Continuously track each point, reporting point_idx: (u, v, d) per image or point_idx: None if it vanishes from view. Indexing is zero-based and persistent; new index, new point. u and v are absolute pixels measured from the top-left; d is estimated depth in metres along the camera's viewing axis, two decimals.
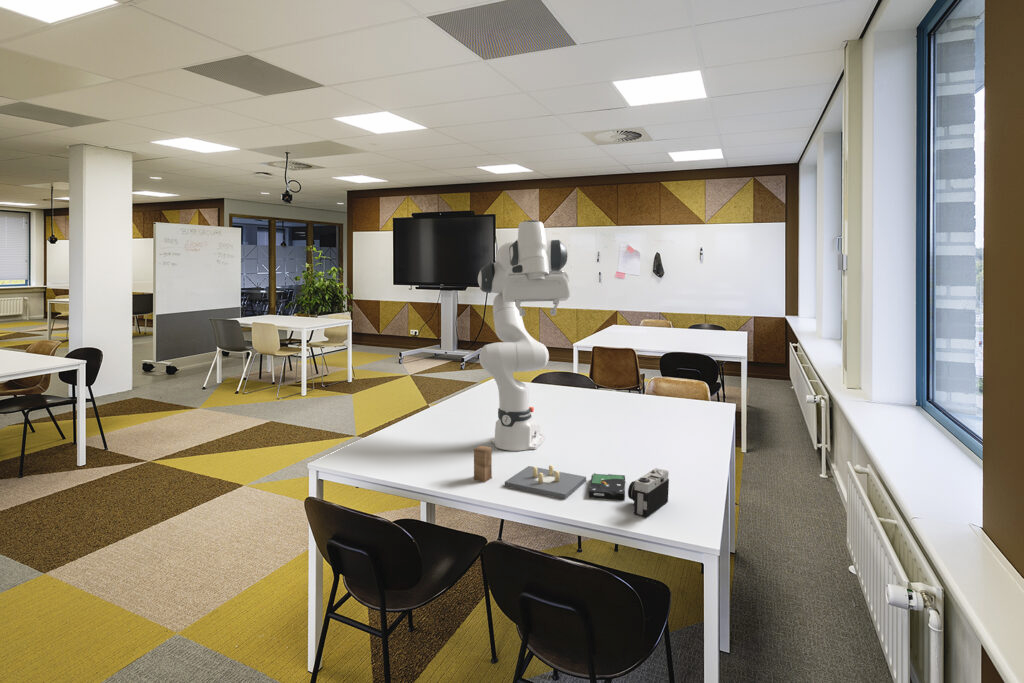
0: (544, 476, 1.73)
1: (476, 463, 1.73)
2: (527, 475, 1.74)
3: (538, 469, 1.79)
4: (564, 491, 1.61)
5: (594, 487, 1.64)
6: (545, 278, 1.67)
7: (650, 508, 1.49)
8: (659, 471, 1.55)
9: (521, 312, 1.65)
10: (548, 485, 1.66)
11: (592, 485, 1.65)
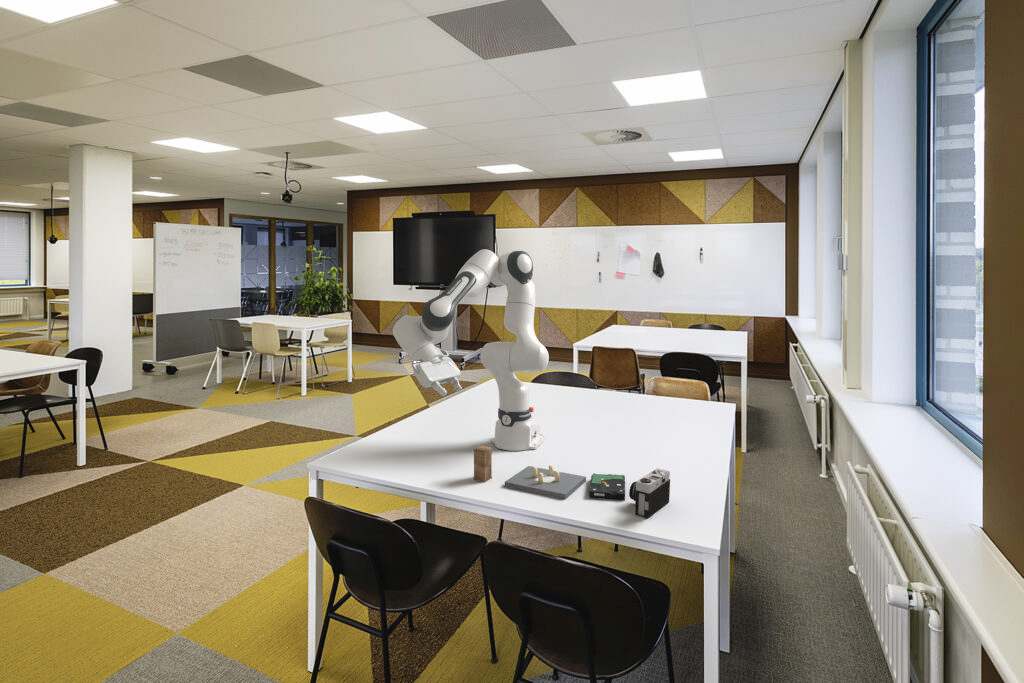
0: (544, 476, 1.73)
1: (476, 463, 1.73)
2: (527, 475, 1.74)
3: (538, 469, 1.79)
4: (564, 491, 1.61)
5: (594, 487, 1.64)
6: None
7: (652, 509, 1.49)
8: (660, 471, 1.55)
9: None
10: (548, 485, 1.66)
11: (592, 485, 1.65)
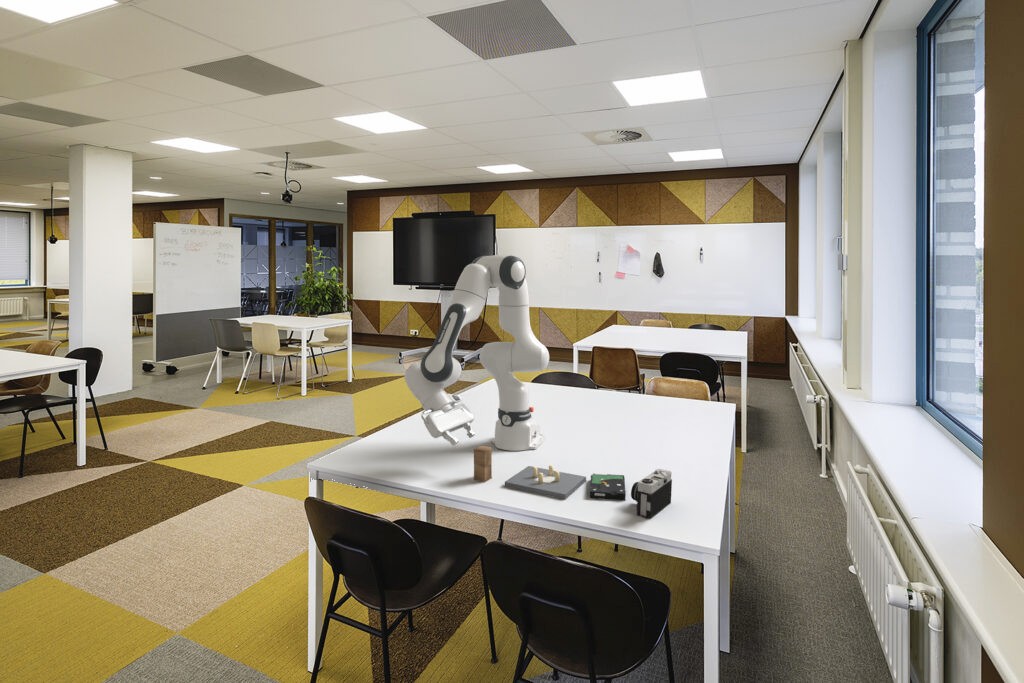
0: (544, 476, 1.73)
1: (476, 463, 1.73)
2: (527, 475, 1.74)
3: (538, 469, 1.79)
4: (564, 491, 1.61)
5: (594, 487, 1.64)
6: None
7: (654, 509, 1.48)
8: (662, 472, 1.55)
9: None
10: (548, 485, 1.66)
11: (592, 485, 1.65)
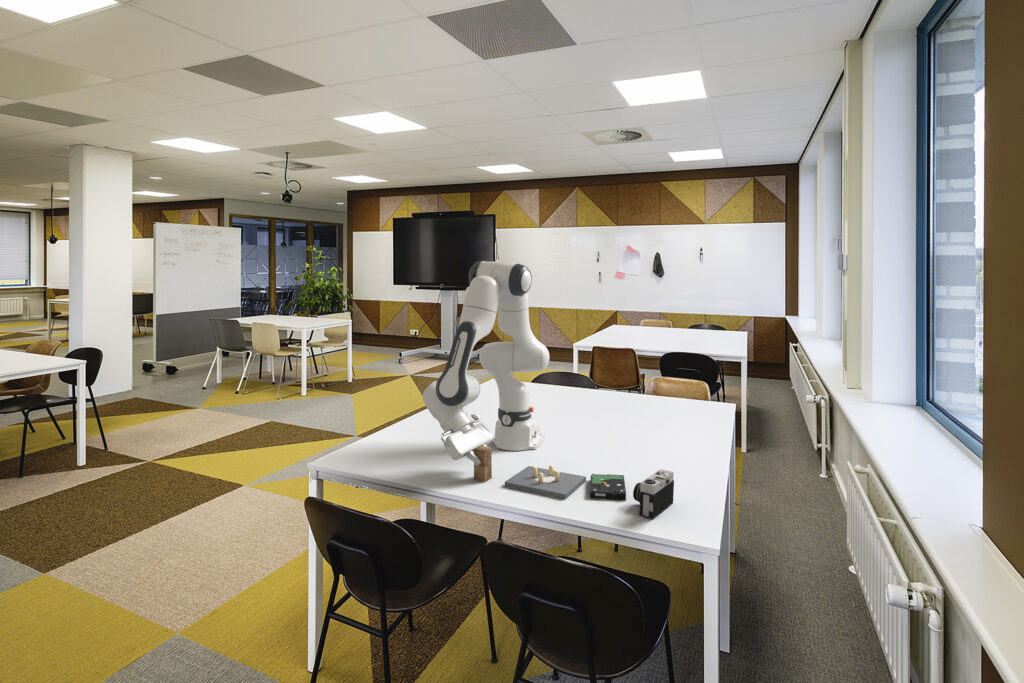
0: (544, 476, 1.73)
1: None
2: (527, 475, 1.74)
3: (538, 469, 1.79)
4: (564, 491, 1.61)
5: (595, 487, 1.63)
6: None
7: (656, 510, 1.48)
8: (664, 472, 1.54)
9: None
10: (548, 485, 1.66)
11: (592, 485, 1.65)
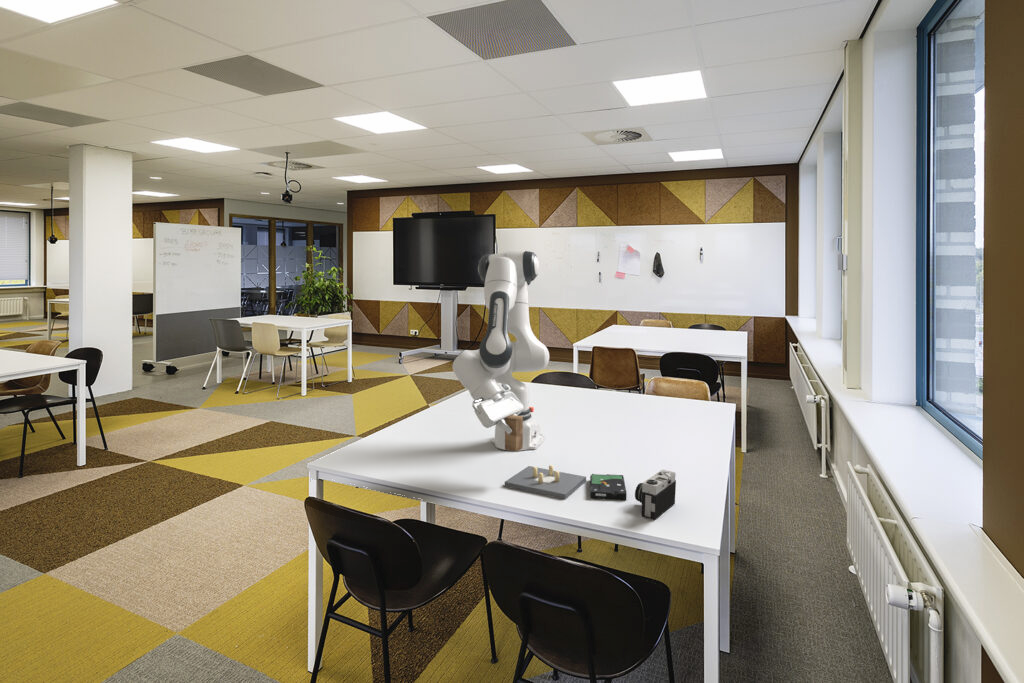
0: (544, 476, 1.73)
1: None
2: (527, 475, 1.74)
3: (538, 469, 1.79)
4: (564, 491, 1.61)
5: (595, 487, 1.63)
6: None
7: (658, 511, 1.48)
8: (666, 473, 1.54)
9: None
10: (548, 485, 1.66)
11: (593, 485, 1.65)
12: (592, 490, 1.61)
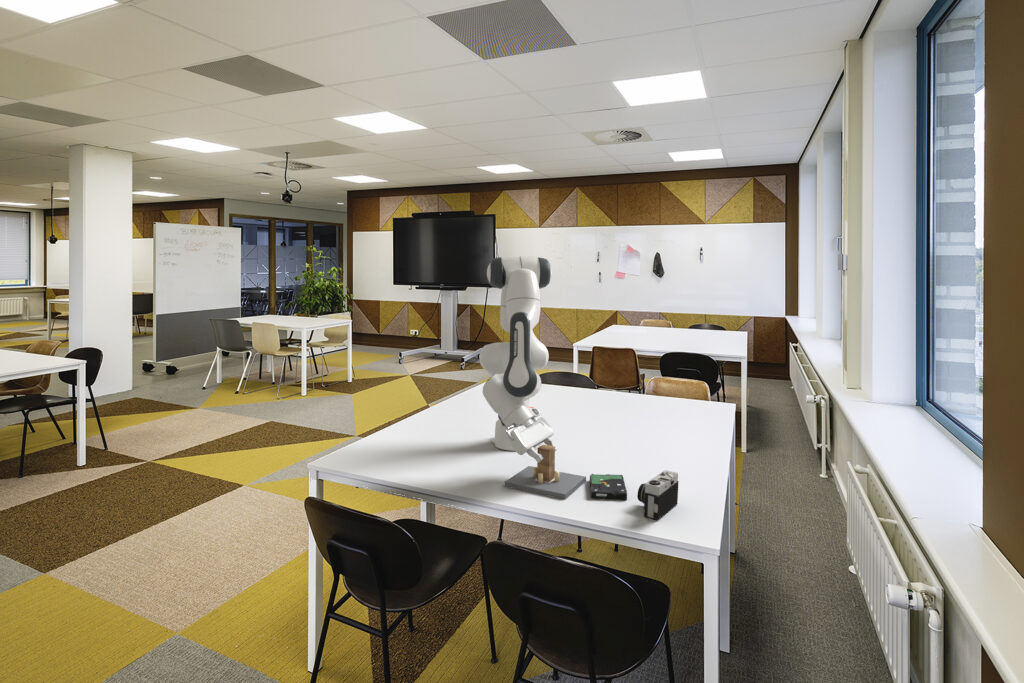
0: None
1: (540, 463, 1.69)
2: (527, 475, 1.74)
3: None
4: (564, 491, 1.61)
5: (595, 488, 1.63)
6: None
7: (661, 511, 1.47)
8: (669, 473, 1.54)
9: None
10: (548, 485, 1.66)
11: (593, 486, 1.65)
12: (593, 490, 1.61)
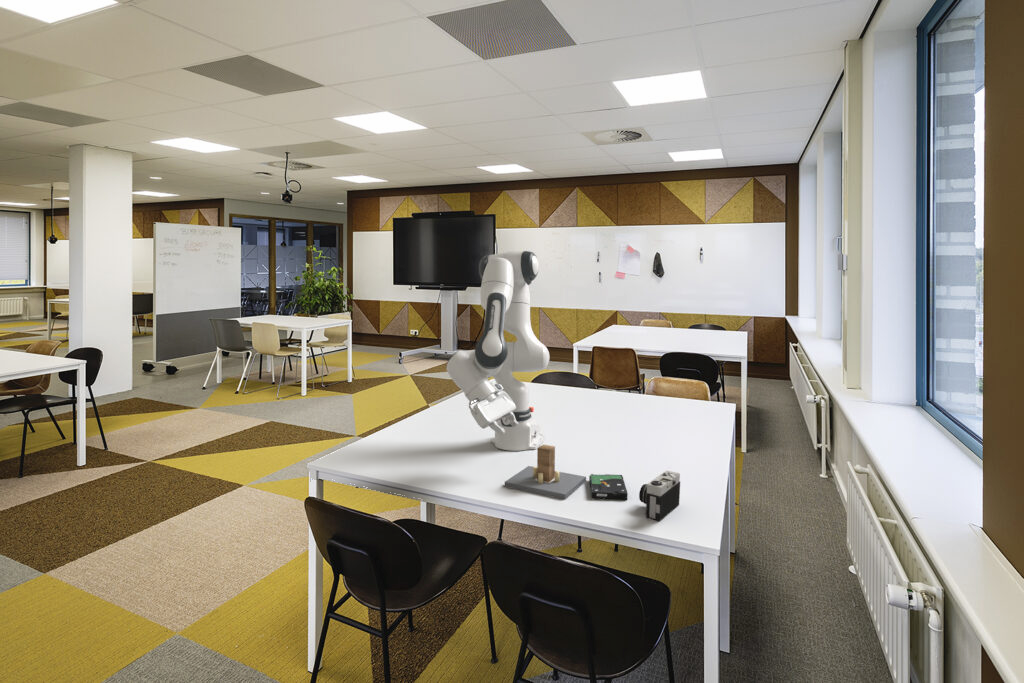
0: None
1: (540, 463, 1.69)
2: (527, 475, 1.74)
3: None
4: (564, 491, 1.61)
5: (595, 488, 1.63)
6: None
7: (663, 512, 1.47)
8: (670, 474, 1.53)
9: None
10: (548, 485, 1.66)
11: (593, 486, 1.65)
12: (593, 490, 1.60)
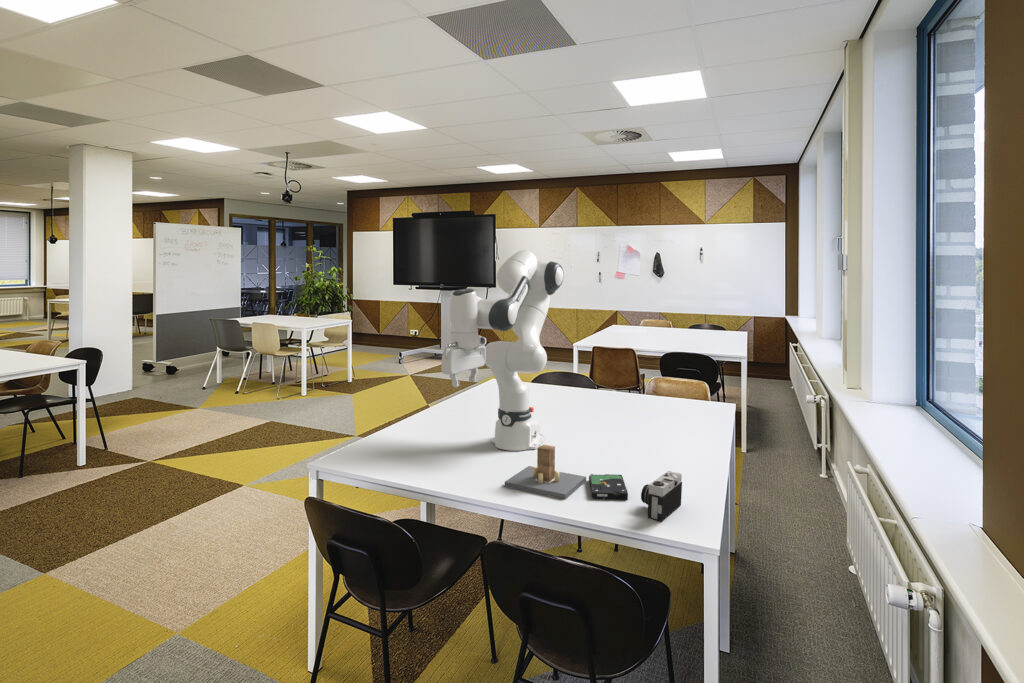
0: None
1: (540, 463, 1.69)
2: (527, 475, 1.74)
3: None
4: (564, 491, 1.61)
5: (596, 488, 1.63)
6: None
7: (665, 512, 1.47)
8: (672, 474, 1.53)
9: None
10: (548, 485, 1.66)
11: (593, 486, 1.64)
12: (593, 491, 1.60)
